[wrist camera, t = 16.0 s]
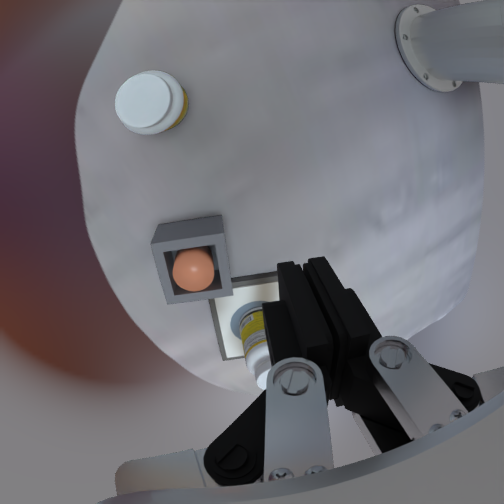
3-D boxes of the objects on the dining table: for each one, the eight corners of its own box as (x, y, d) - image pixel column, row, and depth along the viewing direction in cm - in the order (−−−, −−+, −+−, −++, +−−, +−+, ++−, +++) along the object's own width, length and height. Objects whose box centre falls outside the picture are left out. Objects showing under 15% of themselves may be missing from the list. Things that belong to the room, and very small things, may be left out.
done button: (210, 239, 29) (210, 252, 27) (215, 272, 31) (217, 288, 28) (171, 244, 29) (168, 258, 26) (179, 278, 31) (177, 293, 28)
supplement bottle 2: (280, 333, 38) (299, 389, 29) (240, 339, 38) (251, 398, 29) (280, 302, 36) (301, 358, 27) (236, 308, 35) (246, 368, 26)
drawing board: (296, 268, 35) (299, 273, 34) (296, 343, 41) (298, 349, 40) (206, 282, 34) (206, 288, 33) (222, 355, 40) (222, 362, 39)
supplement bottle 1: (128, 120, 25) (93, 123, 16) (151, 73, 23) (125, 54, 15) (174, 139, 27) (158, 149, 18) (198, 92, 25) (193, 79, 16)
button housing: (221, 215, 31) (224, 232, 26) (229, 271, 34) (233, 295, 30) (158, 224, 30) (150, 244, 26) (171, 279, 33) (167, 304, 29)
